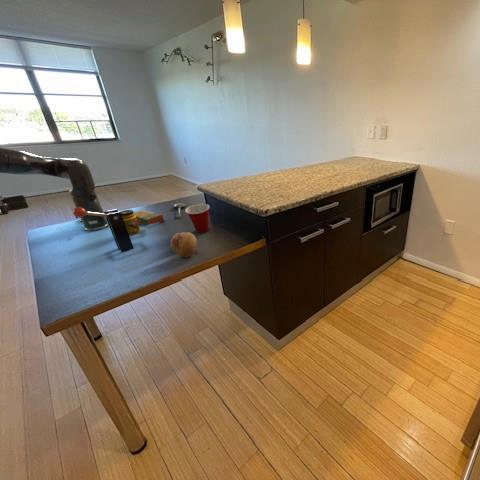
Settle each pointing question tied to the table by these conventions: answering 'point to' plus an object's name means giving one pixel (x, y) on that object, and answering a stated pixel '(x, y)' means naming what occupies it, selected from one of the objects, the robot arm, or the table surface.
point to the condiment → (130, 222)
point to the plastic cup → (199, 217)
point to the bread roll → (183, 244)
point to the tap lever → (82, 212)
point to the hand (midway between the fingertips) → (26, 201)
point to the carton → (148, 217)
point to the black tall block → (119, 230)
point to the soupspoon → (179, 208)
